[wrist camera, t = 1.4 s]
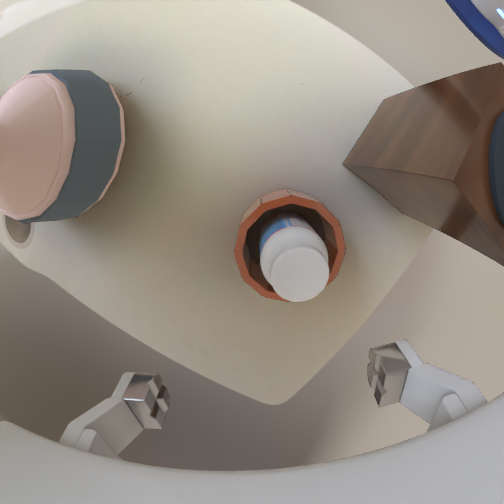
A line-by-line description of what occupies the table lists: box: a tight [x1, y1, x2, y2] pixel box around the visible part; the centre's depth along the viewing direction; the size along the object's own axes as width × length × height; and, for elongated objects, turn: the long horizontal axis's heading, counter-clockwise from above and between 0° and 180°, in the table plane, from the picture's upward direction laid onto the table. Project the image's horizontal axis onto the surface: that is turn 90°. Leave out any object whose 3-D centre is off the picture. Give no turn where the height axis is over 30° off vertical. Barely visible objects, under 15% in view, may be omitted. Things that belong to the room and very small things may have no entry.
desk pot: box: [234, 189, 345, 302], centre depth 29 cm, size 11×11×6 cm
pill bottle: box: [259, 211, 329, 302], centre depth 26 cm, size 6×6×11 cm
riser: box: [343, 62, 504, 266], centre depth 19 cm, size 10×10×19 cm
